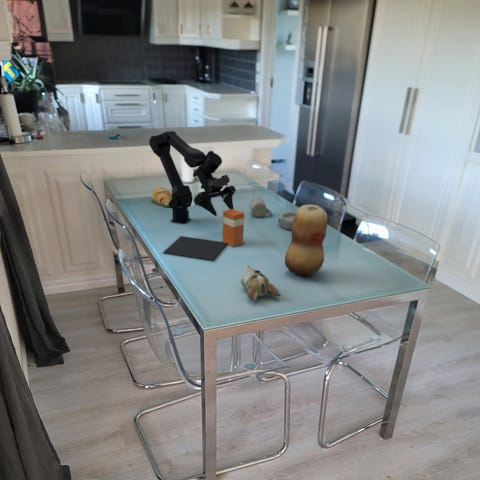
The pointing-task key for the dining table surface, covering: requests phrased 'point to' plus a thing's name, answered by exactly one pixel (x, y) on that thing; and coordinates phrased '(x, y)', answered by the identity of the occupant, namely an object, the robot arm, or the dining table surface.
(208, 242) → the mat
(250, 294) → the ceramic sculpture
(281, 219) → the dish
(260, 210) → the ceramic mug
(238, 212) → the packet
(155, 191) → the croissant
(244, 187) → the dining table surface
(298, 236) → the butternut squash
